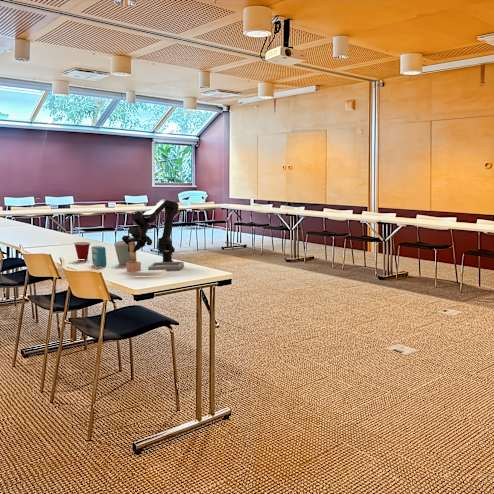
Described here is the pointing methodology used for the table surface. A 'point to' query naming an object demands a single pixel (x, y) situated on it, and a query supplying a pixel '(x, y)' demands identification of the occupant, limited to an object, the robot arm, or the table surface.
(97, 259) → the data package
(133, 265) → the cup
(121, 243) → the disposable coffee cup
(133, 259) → the dowel
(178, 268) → the tray
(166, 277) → the table surface
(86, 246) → the plastic cup
